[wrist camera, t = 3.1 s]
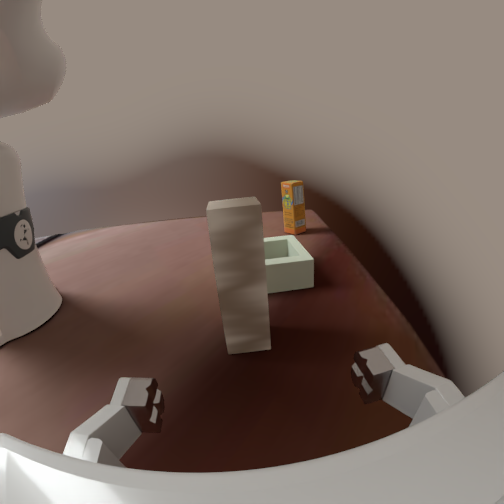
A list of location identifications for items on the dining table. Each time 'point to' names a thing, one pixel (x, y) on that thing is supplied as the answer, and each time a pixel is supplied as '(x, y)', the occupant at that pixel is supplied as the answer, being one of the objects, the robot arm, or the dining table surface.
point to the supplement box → (293, 207)
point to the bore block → (287, 264)
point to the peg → (240, 272)
